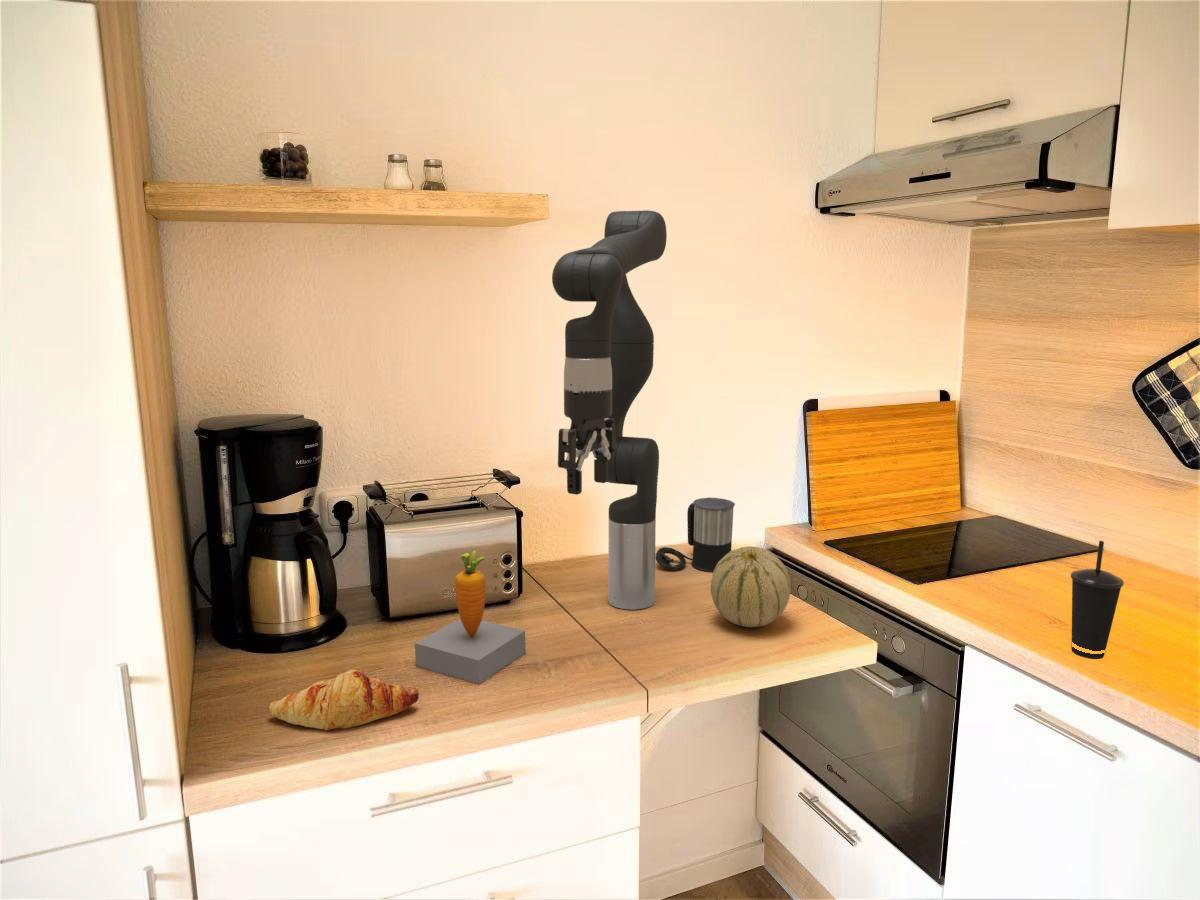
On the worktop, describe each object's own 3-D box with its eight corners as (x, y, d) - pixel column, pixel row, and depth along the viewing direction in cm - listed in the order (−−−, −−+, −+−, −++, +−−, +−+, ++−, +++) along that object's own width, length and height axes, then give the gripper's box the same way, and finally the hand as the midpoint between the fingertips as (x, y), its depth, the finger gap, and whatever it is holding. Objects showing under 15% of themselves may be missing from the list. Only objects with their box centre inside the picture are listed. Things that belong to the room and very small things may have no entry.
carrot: (473, 628, 139) (470, 544, 136) (492, 636, 136) (490, 550, 133) (450, 637, 135) (447, 551, 132) (470, 645, 132) (467, 557, 129)
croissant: (267, 753, 115) (256, 721, 110) (278, 692, 122) (268, 659, 117) (420, 737, 118) (415, 705, 113) (421, 679, 126) (417, 647, 121)
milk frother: (741, 566, 182) (743, 502, 179) (695, 583, 172) (696, 515, 169) (693, 551, 193) (694, 491, 190) (647, 566, 182) (647, 502, 179)
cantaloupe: (769, 605, 159) (772, 532, 157) (803, 636, 145) (807, 556, 143) (698, 611, 156) (700, 537, 154) (725, 643, 142) (728, 562, 139)
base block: (465, 637, 145) (464, 615, 144) (525, 652, 139) (525, 630, 138) (415, 665, 134) (414, 643, 133) (479, 684, 127) (478, 660, 127)
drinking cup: (1054, 651, 139) (1067, 540, 135) (1072, 639, 144) (1085, 532, 140) (1103, 667, 133) (1119, 551, 130) (1120, 654, 138) (1135, 542, 134)
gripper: (589, 380, 133) (589, 476, 137) (542, 389, 121) (543, 494, 124) (630, 383, 130) (629, 481, 133) (586, 392, 118) (586, 500, 121)
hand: (588, 487), depth 129 cm, fingers open, 8 cm apart
